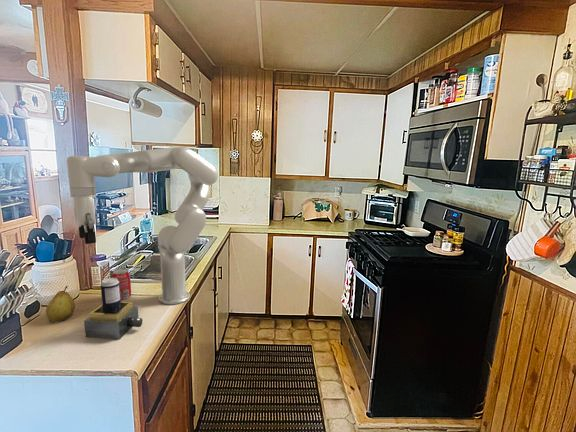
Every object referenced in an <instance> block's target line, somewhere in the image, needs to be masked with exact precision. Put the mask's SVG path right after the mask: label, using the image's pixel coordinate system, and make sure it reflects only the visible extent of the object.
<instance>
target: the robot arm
mask: <svg viewBox="0 0 576 432" xmlns="http://www.w3.org/2000/svg"><path fill="white" fill-rule="evenodd" d="M66 166H67V174H68V183H69V184H68V185H69V194H70V198H72V199H73V214H74V215H73V217H74V223H75V224H76V225H78V234H79V238H80V239H84V244H85V245H88V244H89V245H90V244H96V243H97V238H96V237H97V236H96V228H95V226H94V225H95V224H96V213H95V203H94V197H96V196H97V192H96V191H97V190H96V178H95V177H97V178H98V177H100V178H113V177H115V176H117V175H118V174H125V173H127V174H128V173H142V174H145V173H157V172H162V171H164V172H165V171H170V170H176V169H179V170H180V169H181V170H182V171H184V172H186V173H187V174H188V179H189V181H190V187H189V192H188V193H187V195H186V196H185V198H184V199H183V201H182V202H181V204H180V205H179V206H178V208H177V210H176V211H175V214H174V220H175V222H176V223H177V224H178V225H177V226H175V225H165V226H164V227H162V228H161V229H160V231H159V232H158V234H157V244H158V249H159V257H160V258H159V259H160V277H161V294H160V295H159V296H158V301H159V302H160V303H161V304H163V305H177V304H182V303H184V302H186V301H188V300H189V298H190V297H191V296H190V292H189V291H188V290H187V288H186V287H187V285H188V282H187V281H186V263H185V262H186V261H185V259H186V257H185V253H187V252H188V251H189V250H190V249H191V247H192V246H193V245H194V243H195V242H196V240H197V239H198V238H199V236H200V235H201V233H202V232H203V229H204V228H205V226H206V222H207V215H206V213H205V211H204V208H205V206H207V203H208V202H209V199H210V196H211V195H210V194H211V185H214V184H215V183H216V182H217V180H218V178H219V174H218V170H217V169H216V167H215V166H214V165H212V164H211V163H210V162H209V161H207V160H206V159H204V157H202V156H200V155H199V154H198V153H197V152H196V151H194V150H192V149H191V148H189V147H185V146H173V147H165V148H164V147H163V148H152V149H143V150H137V151H130V152H122V153H113V154H111V153H110V154H101V155H97V156H88V155H72V156H71V155H70V156H68V157H67V158H66Z"/></svg>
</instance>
